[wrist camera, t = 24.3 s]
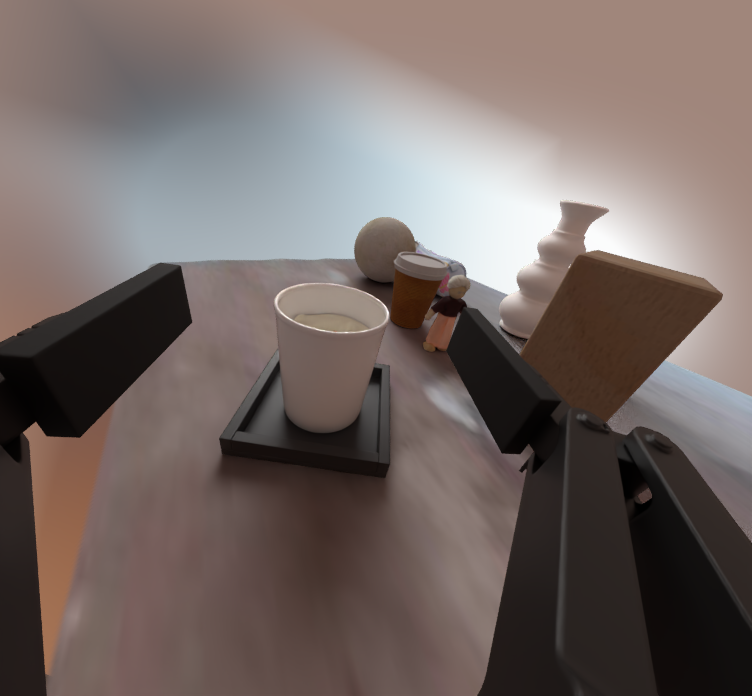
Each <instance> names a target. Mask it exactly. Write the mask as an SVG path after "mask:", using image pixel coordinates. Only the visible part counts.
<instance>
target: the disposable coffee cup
mask: <svg viewBox="0 0 752 696" xmlns="http://www.w3.org/2000/svg"><path fill="white" fill-rule="evenodd" d="M394 264H395V277H394V286H393V296H392V307H391V316H390V318H391V320H392V321H393V322H394V323H395V324H397V325H399V326H402V327H405V328H419V327H420V326H421V325H422V323H423V321H424V318H425V315H426V314H427V312H428V310H429V308H430V306H431V303H432V301H433V299H434V297H435V295H436V293H437V290H438V288H439V286H440V284H441V282H442V280H443V279H444V278H445V276H447V264H446V263H445V262H444V261H442V260H440V259H438V258H435V257H432V256H429V255H425V254H421V253H415V252H400V253H399V254H398V256H397V258H396V259H395V260H394Z"/></svg>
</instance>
